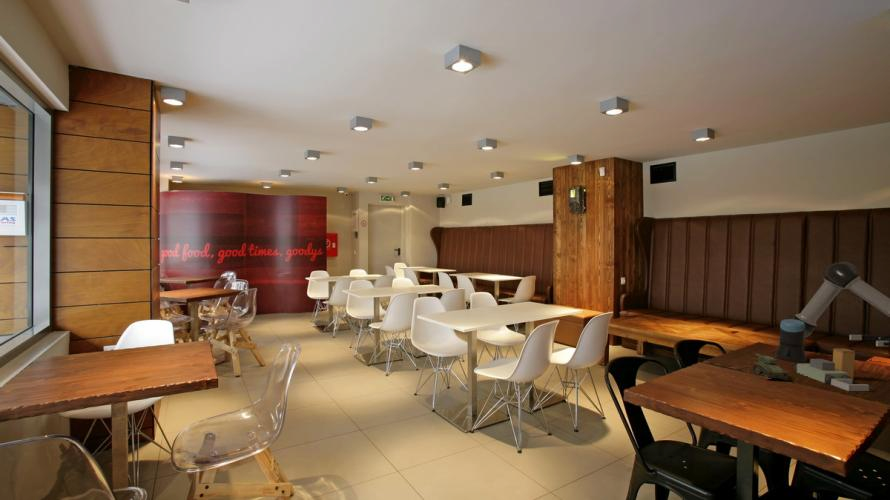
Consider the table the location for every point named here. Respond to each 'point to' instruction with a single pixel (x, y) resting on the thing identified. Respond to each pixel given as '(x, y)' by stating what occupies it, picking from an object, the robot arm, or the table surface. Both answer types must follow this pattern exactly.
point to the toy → (769, 368)
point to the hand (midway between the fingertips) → (863, 340)
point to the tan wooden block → (844, 360)
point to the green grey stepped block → (829, 374)
